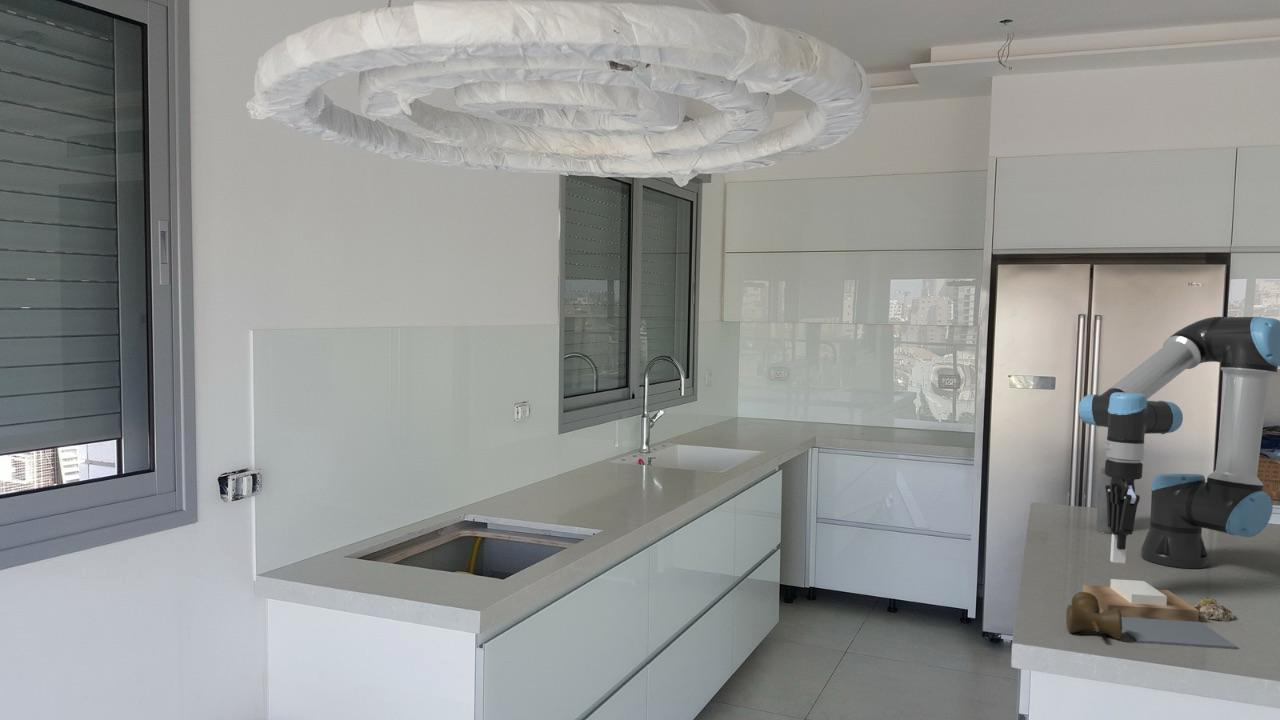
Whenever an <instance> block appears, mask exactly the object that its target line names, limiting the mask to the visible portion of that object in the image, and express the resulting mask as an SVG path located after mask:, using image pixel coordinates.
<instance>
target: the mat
mask: <svg viewBox="0 0 1280 720" xmlns="http://www.w3.org/2000/svg"><path fill="white" fill-rule="evenodd" d="M1121 618H1122V631H1124V632H1125V633H1126V632H1127V633H1126V634H1127V635H1129V636H1130V637H1131V638H1132V637H1133V638H1132V639H1134V641H1135V642H1137V643H1141V642H1147V644H1156V643H1162V644H1161V645H1171V644H1176V645H1175V646H1186V645H1191V646H1190V647H1201V646H1204V647H1205V648H1215V647H1217V649H1218V648H1219V649H1230V648H1231V649H1232V650H1237V649H1238V646H1237V645H1236V644H1234V643H1232V642H1231V641H1230V640H1228V639H1227V638H1225V637H1224V636H1222V635H1221V634H1219V633H1218V632H1216V631H1215V630H1214V629H1212V628H1211V627H1209V626H1207V625H1206V624H1204V623H1203V622H1201V621H1198V622H1192V621H1177V620H1161V619H1146V618H1130V617H1121ZM1231 649H1230V650H1231Z"/></svg>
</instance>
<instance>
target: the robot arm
mask: <svg viewBox="0 0 1280 720" xmlns="http://www.w3.org/2000/svg"><path fill="white" fill-rule="evenodd" d="M1162 344H1163V345H1162V348H1160V349H1159V350H1157V351H1156V352H1155V353H1154V354H1152V355H1151V356H1149V358H1147V359H1146V360H1145V361H1143V362H1142V363H1141V364H1139V365H1138V366H1137V367H1136V368H1134V369H1133V370H1132V371H1130V372H1129V373H1128V374H1126V375H1125V376H1124V377H1123V378H1121V379H1120V380H1119V381H1117V382H1115V384H1114V385H1112V386H1111V387H1110V388H1108V389H1107V390H1106V391H1104V392H1103V393H1102V394H1099V395H1098V394H1088V395H1087V394H1086V395H1085V396H1083V397H1082V398H1081V400H1080V402H1079V404H1078V415H1079V417H1080V418H1079V419H1081V421H1082V422H1083V423H1084V424H1088V425H1092V426H1096V427H1101V428H1107V435H1106V444H1104V449H1106V451H1105V456H1106V458H1107V459H1106V460H1104V461H1105V465H1104V468H1105V475H1107V476H1109V477H1112V479H1111V484H1110V485H1106V487H1105V489H1106V494H1107V519H1108V527H1109V528H1111V532H1112V534H1111V540H1110V542H1111V544H1110V555H1109V556H1110V559H1109V560H1110V562H1111V563H1114V564H1126V561H1127V560H1126V557H1127V555H1126V554H1127V541H1128V536H1129V535H1132V534H1133V530H1134V526H1135V520H1136V516H1137V515H1136V514H1137V509H1138V504H1139V502H1140V499H1141V498H1140V497H1141V496H1140V495H1139V494H1135V493H1136V487H1135V481H1136V480H1140V479H1143V465H1144V464H1143V462H1141V461H1143V460H1144V455H1145V454H1144V453H1145V436H1146V435H1147V434H1151V435H1152V434H1161V435H1165V434H1170V433H1174V432H1176V431H1178V430H1179V429H1180V427H1181V426H1182V423H1183V420H1184V416H1183V412H1182V409H1181V408H1180V407H1179V405H1177V404H1176V403H1174V402H1172V401H1165V400H1158V401H1157V400H1155V401H1154V400H1149V399H1150V398H1152V396H1153V395H1156V393H1157V392H1159V391H1160V390H1161V389H1162V388H1164V387H1165V386H1166V385H1168V384H1169V383H1170V382H1171V381H1172V380H1174V379H1175V378H1176V377H1178V376H1179V375H1180V374H1182V373H1183V372H1184V371H1185V370H1191V369H1194V368H1196V367H1197V366H1199V365H1200V364H1202V363H1213V362H1215V363H1221V364H1220V370H1221V371H1222V372H1223V373H1224V374H1225V376H1226V381H1225V388H1224V397H1223V405H1222V412H1221V413H1222V414H1221V422H1220V430H1219V439H1218V448H1217V454H1216V455H1217V456H1216V461H1215V462H1216V463H1215V470H1214V471H1213V472H1211V473H1210V474H1208V475H1207V479H1206V477H1205V476H1204V475H1203V474H1198V473H1163V474H1162V473H1161V474H1158V475H1155V476H1154V478H1153V479H1152V486H1151V497H1150V499H1151V501H1150V503H1151V504H1150V520H1149V521H1150V524H1149V529H1148V530H1149V531H1148V532H1147V535H1146V537H1145V539H1144V541H1143V544H1142V545H1141V549H1140V557H1141V558H1142V559H1143V560H1146V561H1148V562H1151V563H1154V564H1158V565H1163V566H1167V567H1172V568H1181V569H1204V568H1207V567H1208V566H1209V565H1208V564H1209V556H1208V555H1209V554H1208V552H1207V549H1206V546H1205V542H1204V540H1203V535H1202V533H1203V531H1202V529H1206V530H1207V529H1208V530H1212V531H1216V532H1220V533H1224V534H1228V535H1230V536H1237V537H1238V536H1239V537H1244V538H1251V537H1255V536H1257V535H1259V534H1261V532H1262V531H1263V530H1264V529H1265V528H1266V527H1267V526H1268V524H1269V521H1270V520H1271V517H1272V514H1273V508H1274V507H1273V504H1274V503H1273V502H1272V498H1271V496H1270V495H1269V494H1268V493H1266V492H1265V491H1263V490H1264V482H1262V481H1261V480H1260V478H1258V471H1259V461H1260V456H1261V455H1260V453H1261V452H1260V451H1261V446H1262V445H1261V443H1262V439H1263V438H1262V437H1263V428H1264V421H1265V412H1266V403H1267V396H1268V394H1267V393H1268V390H1269V389H1268V388H1269V380H1270V379H1272V378H1274V376H1275V375H1278V367H1280V320H1279V319H1277V318H1273V317H1265V316H1264V317H1263V316H1212V317H1206V318H1203V319H1200V320H1198V321H1195V322H1192V323H1190V324H1188V325H1187V326H1185V327H1182V328H1181V329H1179V330H1177V331H1176V332H1174V333H1172V335H1170V336H1168V338H1167V339H1165V341H1164V342H1163V343H1162Z"/></svg>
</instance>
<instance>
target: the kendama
mask: <svg viewBox="0 0 1280 720" xmlns="http://www.w3.org/2000/svg"><path fill="white" fill-rule="evenodd" d="M1066 607H1067V608H1066V615H1065V617H1066V622H1065V624H1066V628H1067V631H1068V633H1069V634H1075V633H1079V632H1081V631H1087V630H1088V631H1090V630H1091V631H1096V632H1102V633H1105V634H1107V635H1108V636H1110V637H1111V638H1113V639H1115V640H1117V641H1119V640H1120V639H1121V637H1122V633H1123V629H1122V618H1121V613H1120V610H1119V609H1118V608H1115V609H1112V610H1110V611H1107V612H1104V613H1102V612H1101V611H1100V608H1099V605H1098V600H1097V599H1096V597H1095V596H1094V595H1092V594H1091V593H1087V592H1083V591H1080V592H1077V593H1075V594H1074V595H1073V597H1072V599H1071V604H1068V606H1066Z"/></svg>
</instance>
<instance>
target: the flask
mask: <svg viewBox="0 0 1280 720" xmlns="http://www.w3.org/2000/svg"><path fill="white" fill-rule="evenodd" d="M1111 479H1112V477H1109V476H1107V475H1105V467H1103V468H1101V470H1100V473H1099V479H1098V499H1097V513H1096V514H1097V515H1096V516H1097V517H1096V531H1097V532H1098V531H1099V532H1098V533H1100V532H1104V533H1103V534H1105V533H1112V532H1111V528H1109V527H1108V519H1107V494H1106V489H1105V487H1106V485H1110V484H1111Z"/></svg>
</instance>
